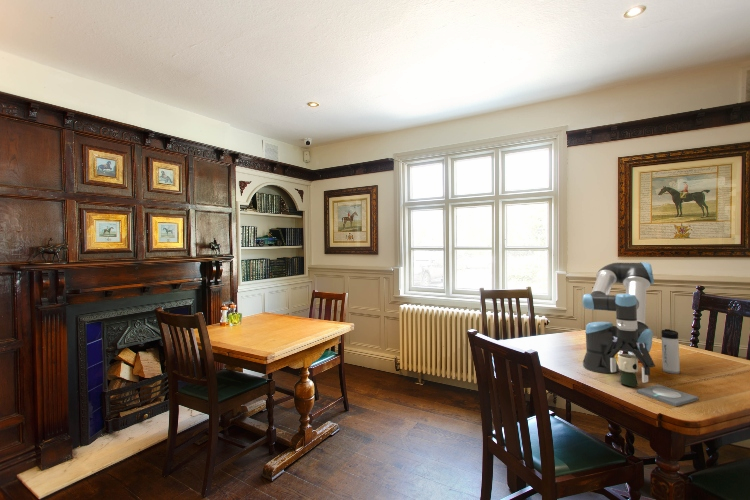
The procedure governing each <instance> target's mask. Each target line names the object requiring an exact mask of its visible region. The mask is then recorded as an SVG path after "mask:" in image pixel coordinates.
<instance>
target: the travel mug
mask: <svg viewBox="0 0 750 500" xmlns="http://www.w3.org/2000/svg"><path fill="white" fill-rule="evenodd" d="M660 332H661V356H662V357H661V358H662V359H661V360H662V371H663V372H665V373H668V374H671V375H678V374H680V371H681V370H680V369H681V368H680V345H679V343H680V342H679V332H678V331H676V330H672V329H670V328H665V329H662V330H661V331H660Z"/></svg>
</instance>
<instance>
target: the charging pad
mask: <svg viewBox="0 0 750 500" xmlns="http://www.w3.org/2000/svg"><path fill="white" fill-rule="evenodd" d="M636 394H641V395H642V396H645V397H649V398H651V399H654V400H656V401H660V402H661V403H665V404H667V405H670V406H673V407H678V406H682V405H686V404H690V403H692V402H696V401H699V396H696V395H693V394H690V393H687V392H684V391H680V390H677V389H674V388H670V387H667V386H665V385H662V384H656V385H655V384H654V385H651V386H647V387H646V386H645V387H642V388H638V389H636Z"/></svg>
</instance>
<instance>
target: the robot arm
mask: <svg viewBox="0 0 750 500" xmlns="http://www.w3.org/2000/svg"><path fill="white" fill-rule="evenodd" d="M595 279H596V280H595V283H594V285H593V287H592V290H591V292H590V293H584V294H583V296H582V306H583V308H584V309H587V310H592V311H595V310H596V311H609V312H615V314H616V315H615V317H616V318H615V319H616V325H614V324H613V322H611V321H594V322H593V321H592V322H589V323H586V325H585V343H586V350H585V351H586V352H585V355H584V357H583V361H582V367H583V366H584V367H585V368H584V367H583V368H584V369H586V368H587V369H586V370H588V369H589V371H591V370H592V372H595V371H596V372H595V373H602V374H615V373H618V372H619V371H620V369H619V364H618V362H617V361H618V360H617V357H616V355H617V354H618V353H619V352H620V351H621V352H626V353H627V352H628V353H633V355H635V356H636V357H637V358H638V362H640V363H641V382H642V383H644V384H645V383H649V376H650V375H651V368H654V367H656V363H655V362H654V361H653V358H652V356H651V354H650V351H651V349H652V347H653V346H652V345H653V339H654V335H653V333H654V332H653V330H652V329H650V328H649V326H648V324H646V312H647V311H646V310H647V308H646V307H647V306H646V304H647V290H648V289H649V288H650V287H651V285H654V284H655V282H654V274H653V268H652V264H651V263H649V262H642V261H641V262H612V263H610V264H606V265H605V266H603V267H602V268H600V269H599V270H598V271H597V273H596V276H595ZM614 284H623V286H624V287H625V293H617V294H615V295H612V294H611V290H612V287H613V285H614Z"/></svg>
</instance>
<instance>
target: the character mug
mask: <svg viewBox="0 0 750 500" xmlns="http://www.w3.org/2000/svg"><path fill="white" fill-rule="evenodd" d="M617 354H618V353H617ZM617 359H618V360H617V361H618V362H617V364H618V366H619V371H621V372H620V379H619V381H620V384H622V385H624V386H627V387H632V388H633V387H634V388H635V387H638V386H639V384H638V382H639V381H638V377H637V374H636V373H638V372H639V360H638V358H637V357H636V356H635V354H631V353H630V354H629V353H619V354H618V357H617Z"/></svg>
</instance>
